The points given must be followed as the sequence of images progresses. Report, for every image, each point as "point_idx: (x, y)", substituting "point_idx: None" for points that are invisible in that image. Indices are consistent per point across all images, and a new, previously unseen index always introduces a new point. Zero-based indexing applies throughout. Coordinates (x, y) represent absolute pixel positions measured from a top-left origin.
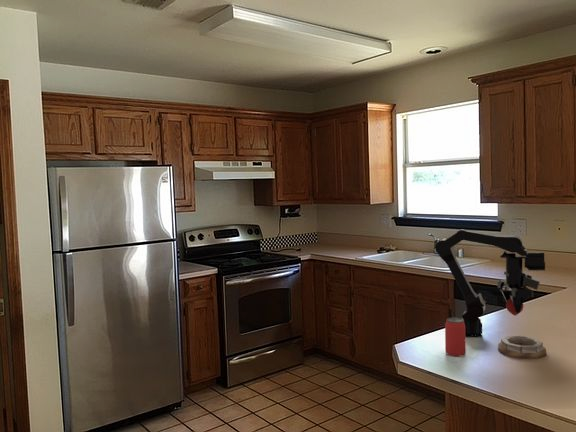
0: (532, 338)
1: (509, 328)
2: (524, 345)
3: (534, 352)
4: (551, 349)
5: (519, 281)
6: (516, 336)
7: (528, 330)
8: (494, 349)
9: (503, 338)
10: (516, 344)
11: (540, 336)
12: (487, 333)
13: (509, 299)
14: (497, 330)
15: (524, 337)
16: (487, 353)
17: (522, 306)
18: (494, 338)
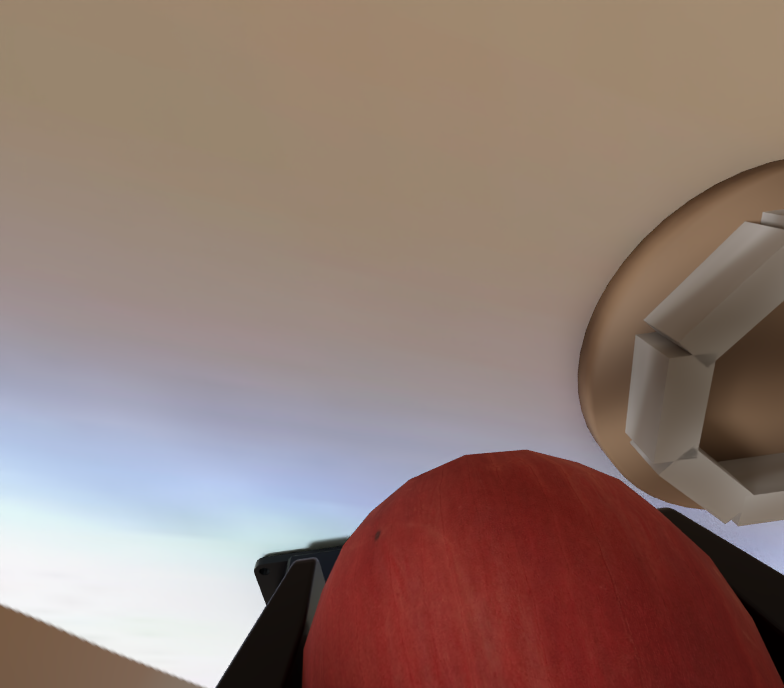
0: (781, 264)
1: (37, 300)
2: (753, 332)
3: None
4: (769, 53)
5: None
6: (676, 401)
7: (43, 97)
8: (673, 504)
9: (712, 507)
10: (710, 387)
11: (290, 16)
12: (279, 499)
13: None
14: (159, 418)
15: (727, 337)
16: (739, 546)
17: (697, 559)
18: (415, 472)
